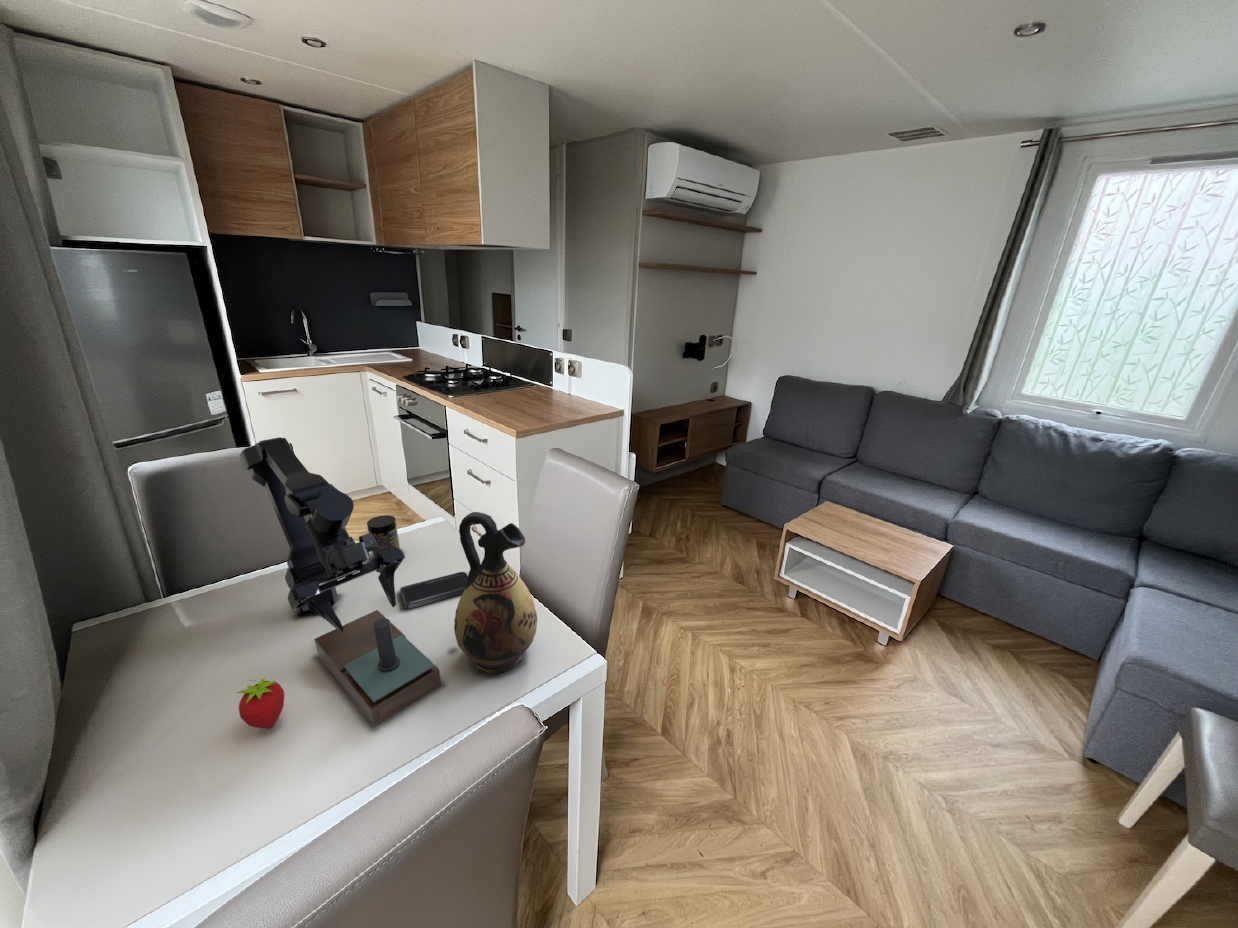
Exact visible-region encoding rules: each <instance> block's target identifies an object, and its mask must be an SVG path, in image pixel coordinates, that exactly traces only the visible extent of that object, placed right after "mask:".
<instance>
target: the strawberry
mask: <svg viewBox="0 0 1238 928" xmlns="http://www.w3.org/2000/svg"><path fill="white" fill-rule="evenodd" d="M265 679H266V676H264V677H262V679H260V680H259V681H257V680H253V679H249V681H250V682H255V684H254V685H247V686H246V687H247V688H246V689H245V688H244V689H242V690H239V691H237V692H236V693H237V694H243V695H242V697H241V699H240V700H239V703H238V713H239V717H240V719H241V720H242V721H243V722H244V723H245V724H246V725H247V726H249V727H252V728H256V729H266V730H270V729H273V727H274V726H275V725H276V723H277V721H278V720H279V718H280V716H281V714H282V711H283V708H284V705H285V691H284V689H283V687H282V686H281V685H280V683H279V682H278V681H276V679H273V680H265Z"/></svg>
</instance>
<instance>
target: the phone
mask: <svg viewBox="0 0 1238 928" xmlns="http://www.w3.org/2000/svg"><path fill="white" fill-rule="evenodd" d="M467 579H468V573H467V572H466V571H459V572H455V573H451V574H447V575H444V576H438V577H435V578H432V579H427V580H424V581H423V580H422V581H419V582H415V583H412V584H407V585H404V586H402V587H400V591H399V592H400V596H401V599H402V603H403V607H404V609H413V608H417V607H421V606H424V605H427V604H431V603H432V604H433V603H434V602H439V601H442V600H446V599H449V598H453V597H457V596H462V594H463V592H464V590H465V588H466V585H467Z"/></svg>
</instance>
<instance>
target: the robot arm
mask: <svg viewBox="0 0 1238 928" xmlns="http://www.w3.org/2000/svg"><path fill="white" fill-rule="evenodd" d="M239 460H240V464H241V466H242V468H243V470H244V471H247V472H248V475H249V476H250V479H251V480H253V481H254V482H256V483H257V484H259V485H260V486H262V487H264V489H265V492H266V493H267V496H268V498H269V501H270V503H271V506H272V508H273V510H274V513H275V515H276V518H277V520H278V522H279V524H280V527H281V529H282V532H283V534H284V537H285V539H286V542H287V543H288V546H289V548H290V549H289V553H288V557H287V562H286V564H287V567H288V568H287V569H286V573H285V576H284V579H285V583H286V584H287V587H288V588H289V591H288V595H287V601H288V604H289V606H290V608H291V610H292V611H296V610H298V612H297V614H296V615H297V617H304V616H312V615H318V616H320V618H322V619H324V620H325V621H326V622H327V623H329V624H330V625H331V626H332V627H333V628H335V629H337V630H339V631H340V632H342V631H343V630H344V629H343V625H342V624H343V623H342V622H341V620H340V618H339V617H338V615H337V613H336V612H335V610H334V608H333V607H334V606H335V604H336V603H337V600H338V596H339V595H338V592H337V587H338V586H341V585H344V584H345V583H348V582H351V581H353V580H355V579H358V578H361V577H363V576H366V575H367V574H370V573H373V572H375V571H376V573H379V575H378V576H377V579H378V581H379V583H380V585H381V587H382V590H383V593H384V594H385V596H386V598H387V601H388V603H389V604H390V605H391V607H392V608H395V607H396V606H397V600H396V589H395V573H396V571H397V569H398V568H399V567H400V565H401V564H402V562H403V561H404V559H405V558H406V555H405V554H404V552H403V550H402V549H401V547H400V548H398V547H396V546H395V547H393V548H390V549H387V550H385V551H382V552H379V553H378V554H377V556H376V558H375V559H374V558H373V560H371V561H369V562H367V560H368V559H370V558H371V556H370V554H369V553H372V551H373V550H376V549H377V548H378V546H377V543H376V540H375V538H374V537H373V535H372V533H369V532H368V533H365V534H362V535H360V536H358V541H357V542H356V541H355V538H353V537H352V536H350V535H349V533H348V531H347V529H346V527H347V525H348V523H349V520H350V518H351V515H352V514H353V512H354V508H355V506H354V504H355V503H354V501H353V499H352V497H350V496H349V494H346V493H345V492H343V491H341V490H339V489H338V488H336V487H335V485H333V484H332V483H329V481H327V480H326V478H324V476H322V475H321V474H317V473H313V472H310V471H309V470H308V469H307V468H306V467H305V465H304V464H303V463H302V462H301V461H300V459H299V458H298V457H297V455H296V454H295V453H294V452H293V451H292V449H291V446H290V443H289V441H288V440H287V438H285V437H282V436H280V437H273V438H268V439H263V440H259V442H255V444H254V445H251V446H249V447H245V448H244V449H243V450H241V452H240V454H239ZM309 515H310V516H311V517H310V518H309V519H308V520H307V521H306V518H305V517H307V516H309ZM365 562H366V563H365Z"/></svg>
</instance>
